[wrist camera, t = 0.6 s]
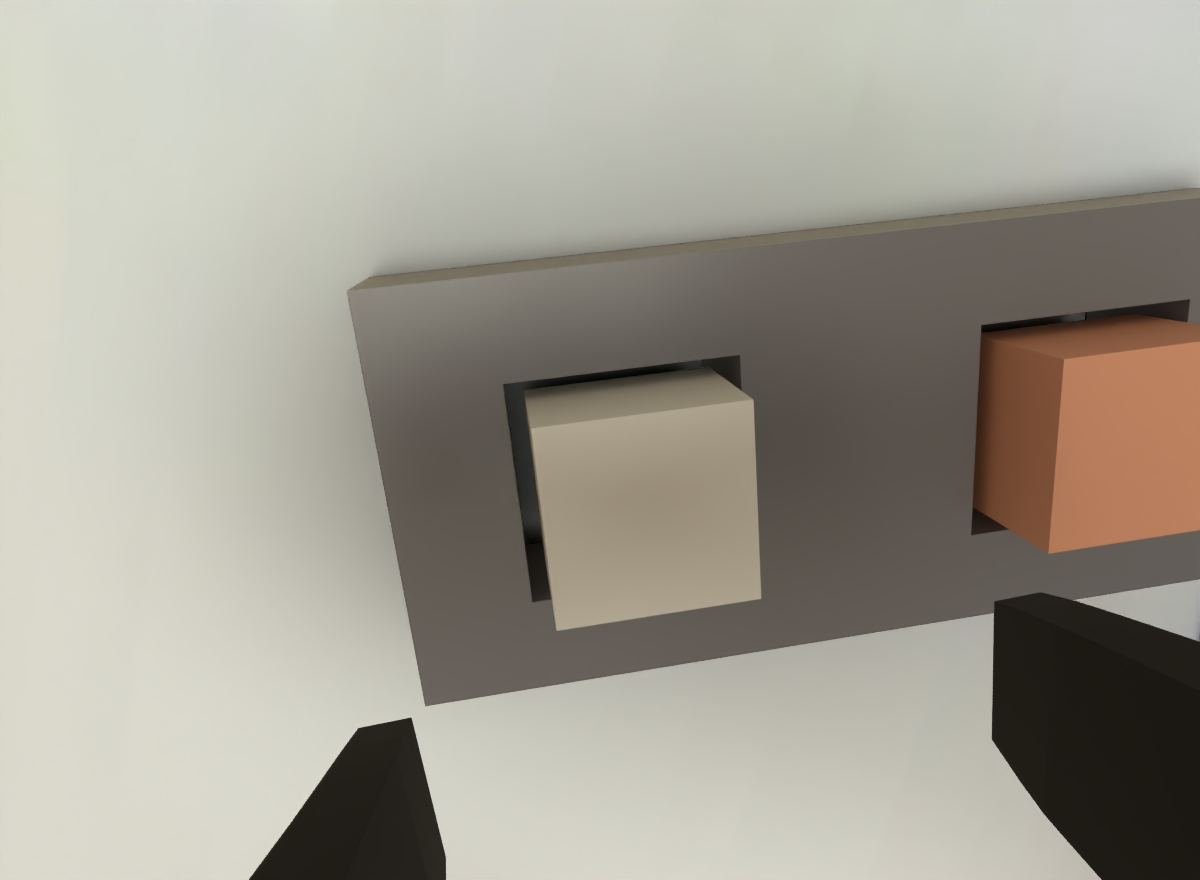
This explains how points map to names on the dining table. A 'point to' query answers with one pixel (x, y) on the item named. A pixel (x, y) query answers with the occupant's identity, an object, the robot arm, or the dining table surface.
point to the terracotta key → (1090, 431)
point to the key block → (755, 423)
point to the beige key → (645, 495)
